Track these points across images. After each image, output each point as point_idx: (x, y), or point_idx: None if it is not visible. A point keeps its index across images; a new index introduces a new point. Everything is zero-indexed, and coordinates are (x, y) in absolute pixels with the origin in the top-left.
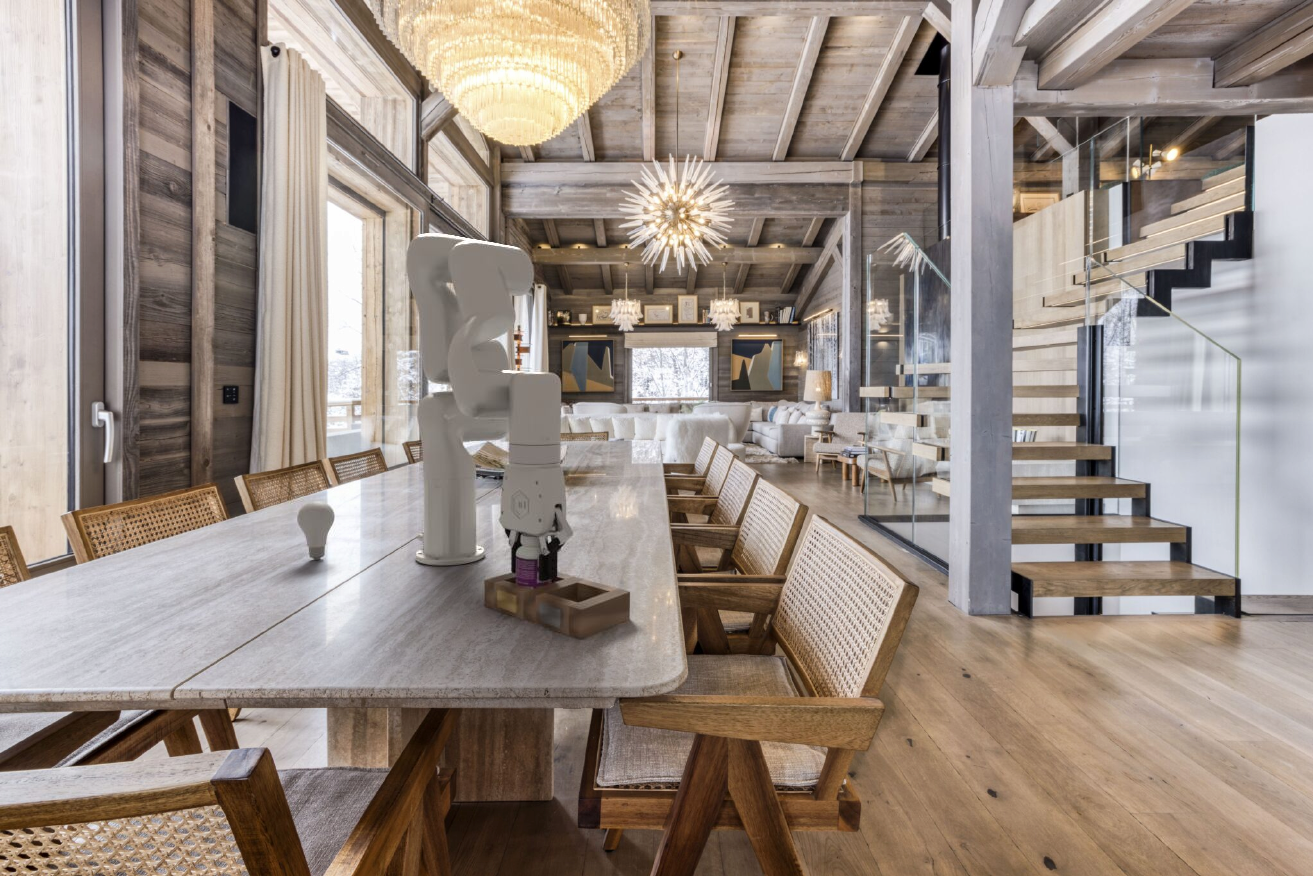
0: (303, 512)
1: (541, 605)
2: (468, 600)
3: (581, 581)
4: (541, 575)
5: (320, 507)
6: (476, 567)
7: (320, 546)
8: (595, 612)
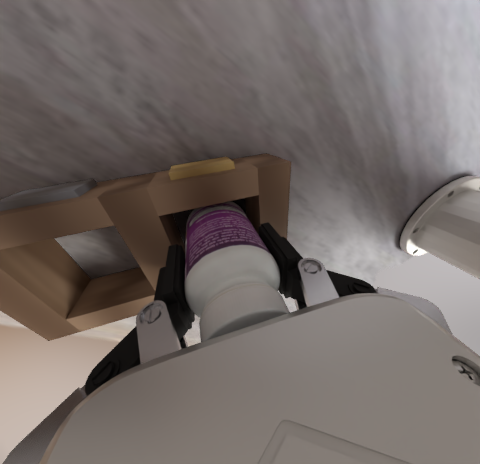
0: None
1: (68, 191)
2: (309, 147)
3: None
4: (167, 253)
5: None
6: (388, 226)
7: None
8: None
